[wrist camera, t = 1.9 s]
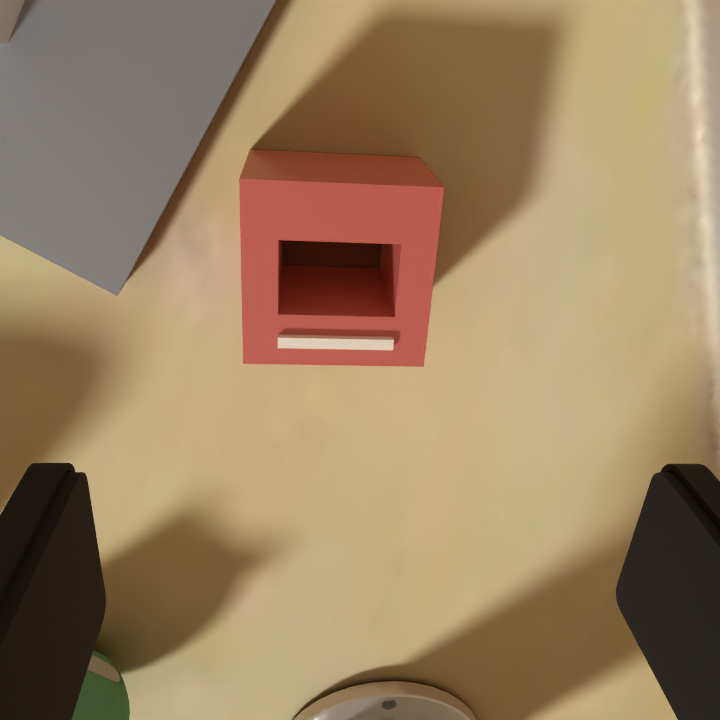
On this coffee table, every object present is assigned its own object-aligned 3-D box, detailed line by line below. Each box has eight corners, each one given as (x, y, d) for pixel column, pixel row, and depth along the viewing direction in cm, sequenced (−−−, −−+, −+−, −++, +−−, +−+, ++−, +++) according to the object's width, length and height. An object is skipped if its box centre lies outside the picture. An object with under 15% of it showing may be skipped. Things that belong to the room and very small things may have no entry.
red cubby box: (419, 157, 26) (445, 189, 21) (404, 311, 29) (424, 369, 24) (250, 149, 25) (238, 180, 20) (252, 307, 28) (242, 366, 23)
